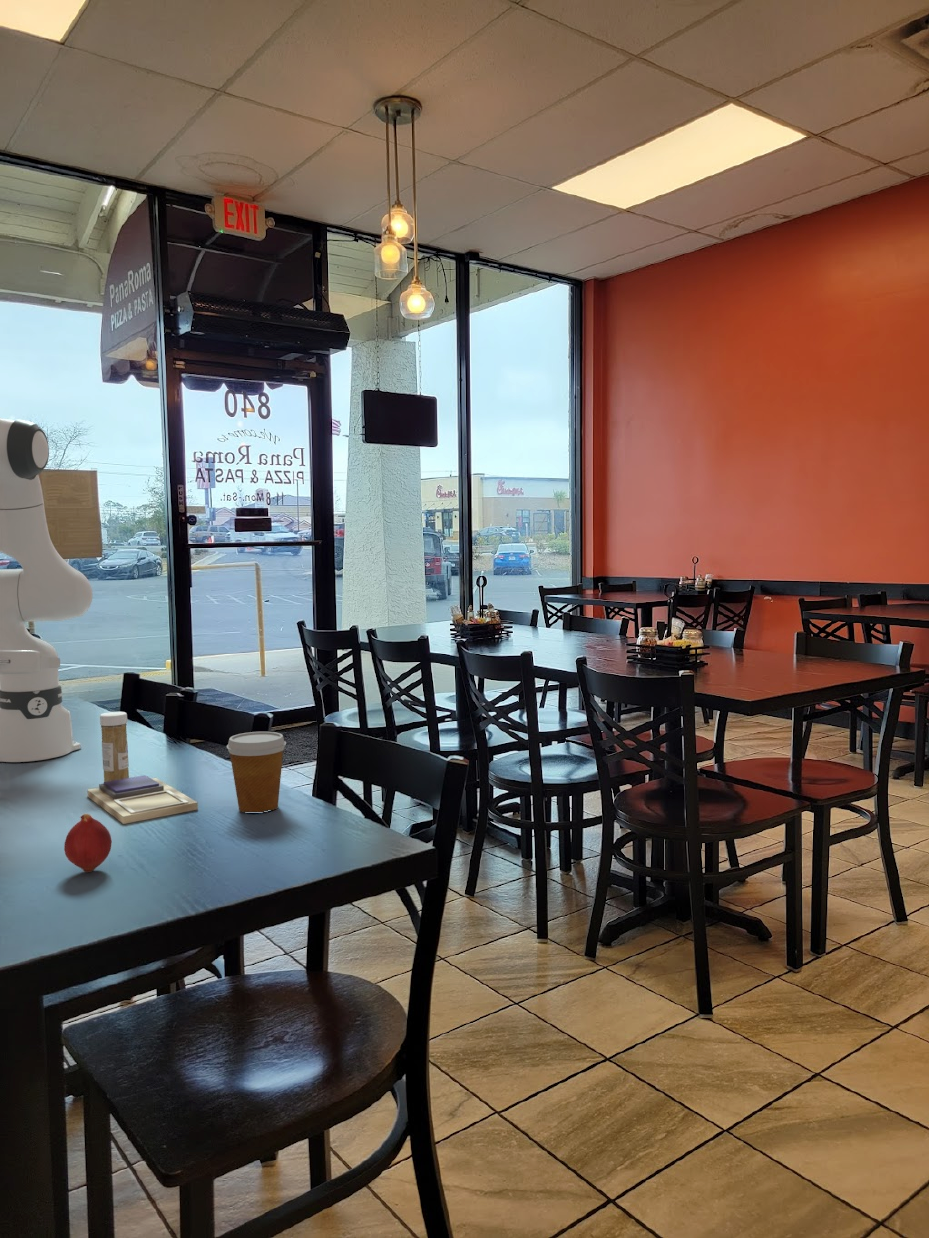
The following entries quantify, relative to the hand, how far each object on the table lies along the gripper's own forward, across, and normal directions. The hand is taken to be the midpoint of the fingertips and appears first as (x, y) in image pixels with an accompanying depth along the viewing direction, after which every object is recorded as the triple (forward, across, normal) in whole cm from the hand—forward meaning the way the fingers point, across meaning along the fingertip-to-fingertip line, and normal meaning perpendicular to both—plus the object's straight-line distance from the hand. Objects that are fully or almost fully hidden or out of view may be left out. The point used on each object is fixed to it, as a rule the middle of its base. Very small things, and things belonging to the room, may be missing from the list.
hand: (47, 663), depth 154 cm
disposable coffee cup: (+23, -30, +25) cm, 45 cm away
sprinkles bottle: (+13, +1, +22) cm, 26 cm away
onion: (-8, -38, +29) cm, 48 cm away
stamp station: (+11, -12, +24) cm, 29 cm away
